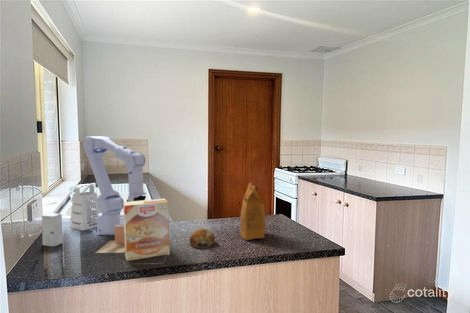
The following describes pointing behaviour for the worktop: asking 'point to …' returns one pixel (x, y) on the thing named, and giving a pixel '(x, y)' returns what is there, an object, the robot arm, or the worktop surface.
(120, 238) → the tile
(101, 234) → the robot arm
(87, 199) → the grater
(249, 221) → the coffee package
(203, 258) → the worktop surface
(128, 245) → the coffeecake box
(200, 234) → the bread roll
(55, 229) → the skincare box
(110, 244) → the mat
